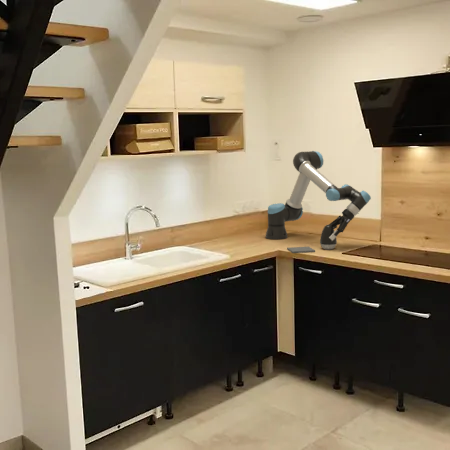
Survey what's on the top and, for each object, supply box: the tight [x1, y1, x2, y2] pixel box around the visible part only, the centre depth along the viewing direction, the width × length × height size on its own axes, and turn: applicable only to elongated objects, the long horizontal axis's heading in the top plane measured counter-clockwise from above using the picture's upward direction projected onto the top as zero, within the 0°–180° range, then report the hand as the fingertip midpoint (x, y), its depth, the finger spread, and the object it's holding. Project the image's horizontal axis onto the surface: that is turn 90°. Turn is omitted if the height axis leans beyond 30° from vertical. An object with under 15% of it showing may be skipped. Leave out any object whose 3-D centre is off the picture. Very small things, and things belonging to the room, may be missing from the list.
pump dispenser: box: [319, 224, 338, 251], centre depth 358 cm, size 10×10×15 cm
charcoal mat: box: [286, 246, 316, 254], centre depth 356 cm, size 13×14×1 cm
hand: (327, 237), depth 358 cm, fingers open, 13 cm apart
